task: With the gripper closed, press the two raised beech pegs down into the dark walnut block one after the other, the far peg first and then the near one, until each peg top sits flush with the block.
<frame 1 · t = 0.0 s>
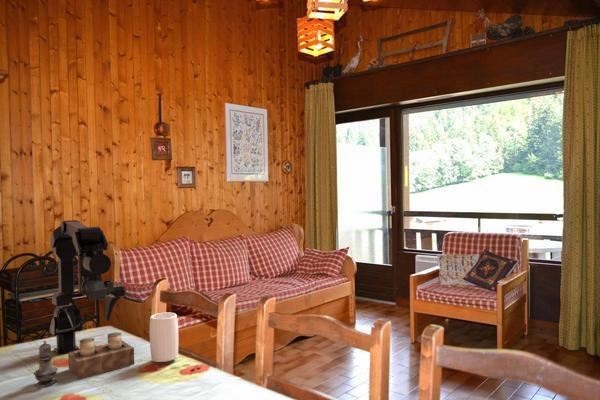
hand: (90, 324, 133), 15 cm above the table, tool pointing down, fingers open, 9 cm apart
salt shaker: (46, 384, 127), on the table
peg near: (87, 347, 136), point 7 cm above the table, slide at 0.0 cm
walnut block: (101, 366, 139), on the table
cup: (164, 361, 142), on the table
peg far: (114, 341, 141), point 7 cm above the table, slide at 0.0 cm
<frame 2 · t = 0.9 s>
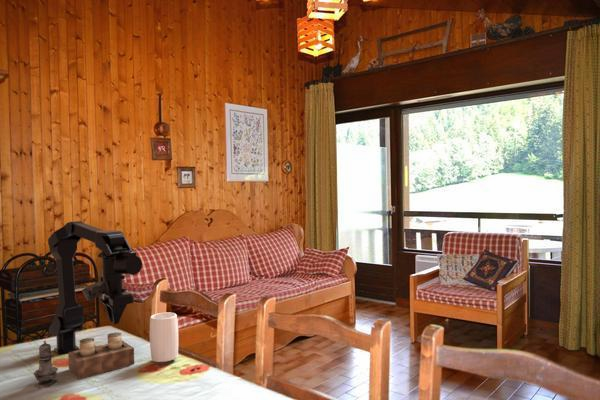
hand: (114, 322, 141), 12 cm above the table, tool pointing down, fingers open, 3 cm apart
nothing on the table moved.
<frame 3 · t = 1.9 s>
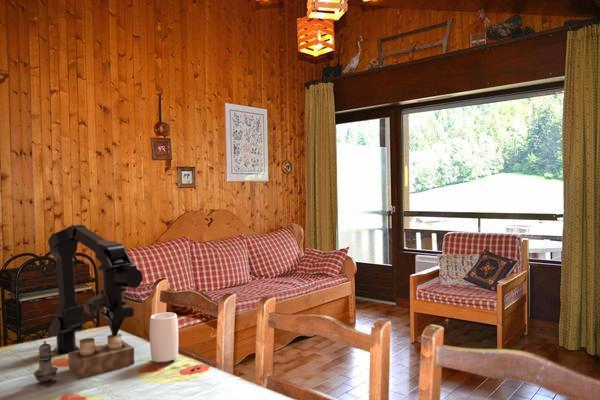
hand: (114, 335, 141), 9 cm above the table, tool pointing down, fingers closed, pressing on peg far
peg far: (114, 342, 141), point 6 cm above the table, slide at 0.4 cm, touching gripper
everything else where it was.
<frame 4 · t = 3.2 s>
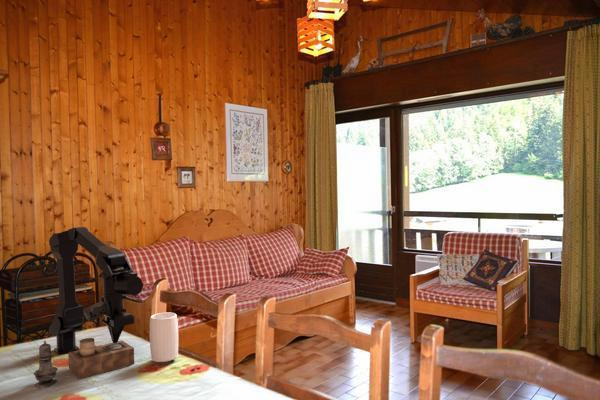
hand: (114, 342, 141), 6 cm above the table, tool pointing down, fingers closed
peg far: (115, 354, 141), point 3 cm above the table, slide at 3.8 cm
everything else where it was.
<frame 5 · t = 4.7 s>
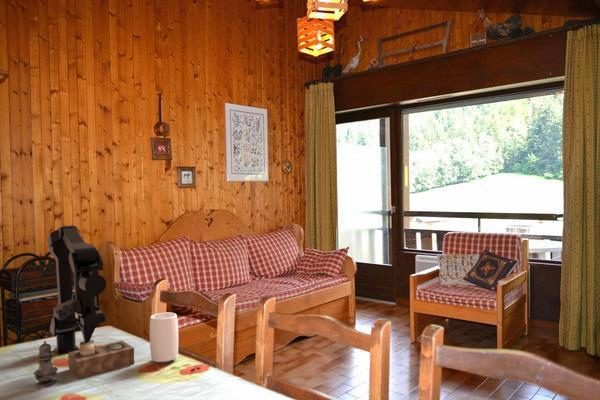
hand: (87, 342, 136), 8 cm above the table, tool pointing down, fingers closed, pressing on peg near
peg near: (87, 349, 136), point 6 cm above the table, slide at 0.6 cm, touching gripper
everything else where it was.
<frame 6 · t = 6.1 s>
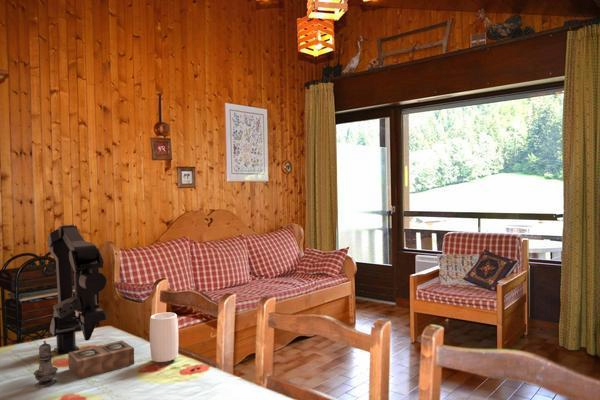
hand: (87, 340, 136), 9 cm above the table, tool pointing down, fingers closed
peg near: (87, 360, 136), point 3 cm above the table, slide at 3.8 cm
everything else where it was.
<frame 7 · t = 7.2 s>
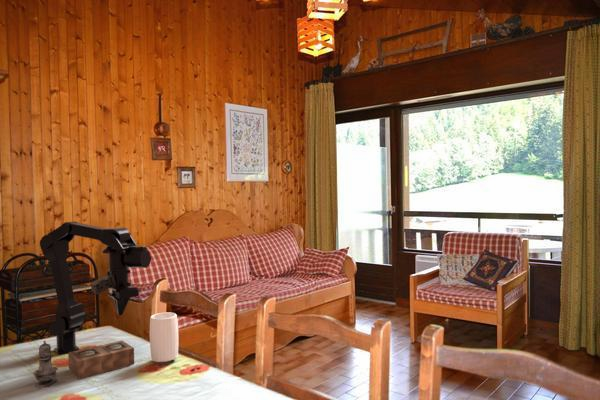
hand: (120, 315, 148), 13 cm above the table, tool pointing down, fingers closed
nothing on the table moved.
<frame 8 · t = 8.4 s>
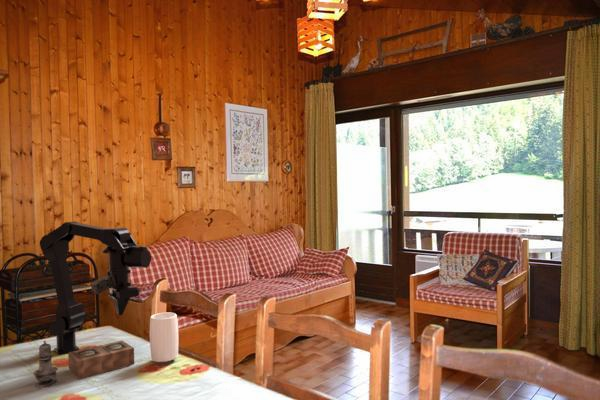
hand: (120, 315, 148), 13 cm above the table, tool pointing down, fingers closed
nothing on the table moved.
at the end: peg far slide at 3.8 cm; peg near slide at 3.8 cm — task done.
